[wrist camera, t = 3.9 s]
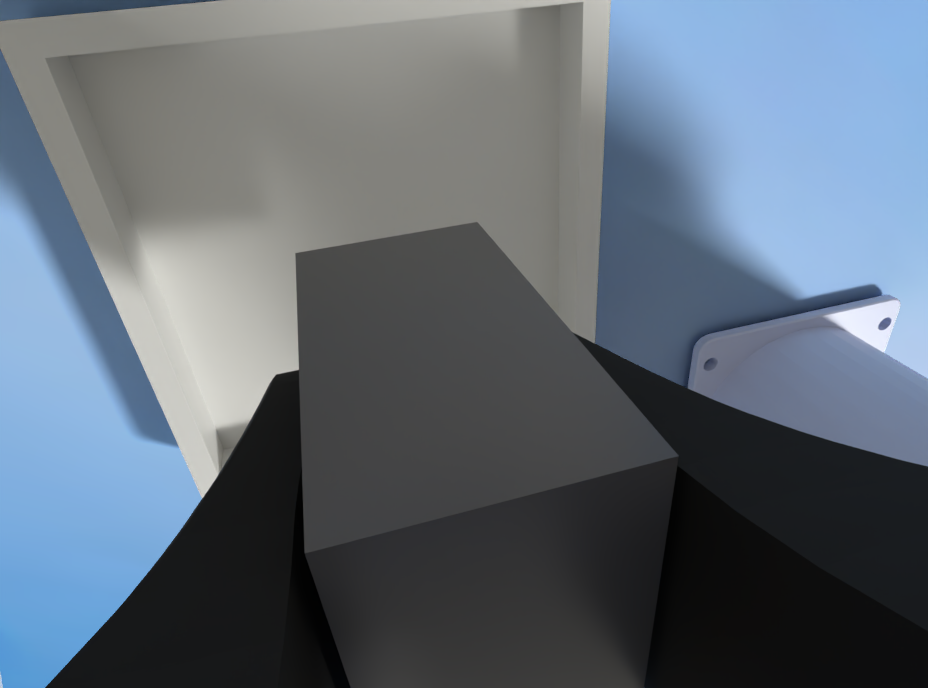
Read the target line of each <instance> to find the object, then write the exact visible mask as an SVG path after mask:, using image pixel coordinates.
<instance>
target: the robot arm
mask: <svg viewBox="0 0 928 688" xmlns="http://www.w3.org/2000/svg"><path fill="white" fill-rule="evenodd" d="M899 310H900V301H899V300H898V299H897V298H895V297H892V296H890V295H882V296H878V297H873V298H869V299H864V300H860V301H855V302H851V303H846V304H842V305H837V306H833V307H828V308H824V309H819V310H815V311H810V312H806V313H801V314H797V315H792V316H787V317H783V318H778V319H774V320H769V321H765V322H760V323H756V324H751V325H747V326H742V327H738V328H733V329H729V330H724V331H720V332H715V333H711V334H707V335H705V336H703V337H701V338H700V339H699V340H698V341H697V343H696V344H695V346H694V349H693V355H692V361H691V368H690V374H689V381H688V388H685V387H683V386H681V385H678V384H676V383H674V382H672V381H670V380H667V379H665V378H663V377H661V376H659V375H657V374H655V373H652V372H650V371H648V370H646V369H644V368H642V367H640V366H638V365H636V364H634V363H632V362H630V361H628V360H626V359H624V358H622V357H620V356H618V355H616V354H614V353H612V352H610V351H608V350H606V349H604V348H602V347H600V346H598V345H597V344H595V343H593V342H591V341H589V340H587V339H585V338H583V337H581V336H579V335H577V334H575V333H573V334H574V335H575V336H576V337H577V338H578V339H579V341H580V342H581V343H582V344H583V345H584V346H585V348H586V349H587V350H588V351H589V352H590V353H591V355H592V356H593V357H594V358H595V359H596V360H597V362H598V363H599V364H600V365H601V366H602V367H603V368H604V370H605V371H606V372H607V373H608V374H609V375H610V377H611V378H612V379H613V380H614V381H615V382H616V384H617V385H618V386H619V387H620V388H621V389H622V391H623V392H624V393H625V394H626V395H627V396H628V398H629V399H630V400H631V401H632V402H633V403H634V405H635V406H636V407H637V408H638V409H639V410H640V411H641V413H642V414H643V415H644V416H645V417H646V418H647V420H648V421H649V422H650V423H651V424H652V425H653V427H654V428H655V429H656V430H657V431H658V432H659V434H660V435H661V436H662V437H663V438H664V439H665V441H666V442H667V443H668V444H669V445H670V446H671V448H672V449H673V450H674V451H675V452H676V453H677V454H678V456H679V457H678V464H677V471H676V477H675V484H674V491H673V497H672V504H671V511H670V517H669V524H668V531H667V537H666V544H665V551H664V557H663V564H662V571H661V577H660V584H659V591H658V597H657V604H656V611H655V617H654V624H653V631H652V637H651V644H650V651H649V657H648V664H647V671H646V677H645V684H644V688H928V379H927V378H926V377H924V376H922V375H920V374H919V373H917V372H915V371H914V370H912V369H910V368H909V367H907V366H905V365H904V364H902V363H900V362H898V361H897V360H895V359H893V358H892V357H890V356H888V355H887V354H885V353H884V352H885V349H886V346H887V343H888V340H889V338H890V335H891V332H892V329H893V327H894V324H895V321H896V318H897V315H898V313H899ZM708 359H709V361H708V362H707V363H706V364H705V362H706V361H707V360H708ZM45 688H351V687H350V684H349V681H348V678H347V675H346V673H345V670H344V667H343V664H342V661H341V658H340V655H339V652H338V649H337V646H336V643H335V641H334V638H333V635H332V632H331V629H330V626H329V623H328V620H327V617H326V614H325V611H324V609H323V606H322V603H321V600H320V597H319V594H318V591H317V588H316V585H315V582H314V579H313V577H312V574H311V571H310V568H309V565H308V562H307V559H306V556H305V550H304V518H303V486H302V453H301V421H300V388H299V370H296V371H291V372H286V373H281V374H276V375H275V377H274V378H273V379H272V381H271V382H270V384H269V386H268V388H267V390H266V392H265V394H264V396H263V397H262V399H261V401H260V403H259V405H258V407H257V409H256V411H255V413H254V415H253V416H252V418H251V420H250V422H249V424H248V425H247V427H246V429H245V431H244V433H243V434H242V436H241V438H240V440H239V441H238V443H237V445H236V446H235V448H234V450H233V451H232V453H231V455H230V456H229V458H228V460H227V461H226V463H225V465H224V466H223V468H222V470H221V471H220V473H219V474H218V476H217V478H216V479H215V481H214V482H213V484H212V485H211V487H210V488H209V489H208V491H207V492H206V494H205V495H204V497H203V498H202V500H201V501H200V503H199V504H198V506H197V507H196V509H195V510H194V511H193V513H192V514H191V516H190V517H189V519H188V520H187V522H186V523H185V525H184V526H183V528H182V529H181V530H180V532H179V533H178V534H177V536H176V537H175V538H174V540H173V541H172V542H171V544H170V545H169V546H168V548H167V549H166V550H165V552H164V553H163V554H162V556H161V557H160V558H159V560H158V561H157V562H156V563H155V565H154V566H153V567H152V569H151V570H150V571H149V572H148V573H147V575H146V576H145V577H144V578H143V580H142V581H141V582H140V583H139V584H138V586H137V587H136V588H135V589H134V591H133V592H132V593H131V594H130V596H129V597H128V598H127V599H126V600H125V602H124V603H123V604H122V605H121V606H120V607H119V608H118V610H117V611H116V612H115V613H114V614H113V615H112V616H111V617H110V618H109V620H108V621H107V622H106V623H105V624H104V625H103V626H102V627H101V628H100V629H99V630H98V631H97V632H96V634H95V635H94V636H93V637H92V638H91V639H90V640H89V641H88V642H87V643H86V644H85V645H84V646H83V648H82V649H81V650H80V651H79V652H78V653H77V654H76V655H75V656H74V657H73V658H72V659H71V660H70V662H69V663H68V664H67V665H66V666H65V667H64V668H63V669H62V670H61V671H60V672H59V673H58V674H57V676H56V677H55V678H54V679H53V680H52V681H51V682H50V683H49V684H48V685H47V686H46V687H45Z"/></svg>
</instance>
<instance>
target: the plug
mask: <svg viewBox="0 0 928 688" xmlns="http://www.w3.org/2000/svg"><path fill="white" fill-rule="evenodd" d="M295 259H296V291H297V324H298V356H299V388H300V421H301V453H302V486H303V518H304V550H305V556H306V559H307V562H308V565H309V568H310V571H311V574H312V577H313V579H314V582H315V585H316V588H317V591H318V594H319V597H320V600H321V603H322V606H323V609H324V611H325V614H326V617H327V620H328V623H329V626H330V629H331V632H332V635H333V638H334V641H335V643H336V646H337V649H338V652H339V655H340V658H341V661H342V664H343V667H344V670H345V673H346V675H347V678H348V681H349V684H350V687H351V688H644V684H645V677H646V671H647V664H648V657H649V651H650V644H651V637H652V631H653V624H654V617H655V611H656V604H657V597H658V591H659V584H660V577H661V571H662V564H663V557H664V551H665V544H666V537H667V531H668V524H669V517H670V511H671V504H672V497H673V491H674V484H675V477H676V471H677V464H678V457H679V456H678V454H677V453H676V452H675V451H674V450H673V449H672V448H671V446H670V445H669V444H668V443H667V442H666V441H665V439H664V438H663V437H662V436H661V435H660V434H659V432H658V431H657V430H656V429H655V428H654V427H653V425H652V424H651V423H650V422H649V421H648V420H647V418H646V417H645V416H644V415H643V414H642V413H641V411H640V410H639V409H638V408H637V407H636V406H635V405H634V403H633V402H632V401H631V400H630V399H629V398H628V396H627V395H626V394H625V393H624V392H623V391H622V389H621V388H620V387H619V386H618V385H617V384H616V382H615V381H614V380H613V379H612V378H611V377H610V375H609V374H608V373H607V372H606V371H605V370H604V368H603V367H602V366H601V365H600V364H599V363H598V362H597V360H596V359H595V358H594V357H593V356H592V355H591V353H590V352H589V351H588V350H587V349H586V348H585V346H584V345H583V344H582V343H581V342H580V341H579V339H578V338H577V337H576V336H575V335H574V334H573V332H572V331H571V330H570V329H569V328H568V327H567V325H566V324H565V323H564V322H563V321H562V320H561V319H560V317H559V316H558V315H557V314H556V313H555V312H554V310H553V309H552V308H551V307H550V306H549V305H548V303H547V302H546V301H545V300H544V299H543V298H542V296H541V295H540V294H539V293H538V292H537V291H536V289H535V288H534V287H533V286H532V285H531V284H530V282H529V281H528V280H527V279H526V278H525V277H524V276H523V274H522V273H521V272H520V271H519V270H518V269H517V267H516V266H515V265H514V264H513V263H512V262H511V260H510V259H509V258H508V257H507V256H506V255H505V253H504V252H503V251H502V250H501V249H500V248H499V246H498V245H497V244H496V243H495V242H494V241H493V239H492V238H491V237H490V236H489V235H488V234H487V233H486V231H485V230H484V229H483V228H482V227H481V226H480V224H479V223H478V222H474V223H468V224H462V225H456V226H450V227H445V228H439V229H433V230H427V231H421V232H415V233H410V234H404V235H398V236H392V237H386V238H380V239H375V240H369V241H363V242H357V243H351V244H345V245H340V246H334V247H328V248H322V249H316V250H310V251H305V252H299V253H295Z"/></svg>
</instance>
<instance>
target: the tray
mask: <svg viewBox="0 0 928 688" xmlns="http://www.w3.org/2000/svg"><path fill="white" fill-rule="evenodd" d="M610 5H611V0H220V1H210V2H199V3H188V4H177V5H167V6H156V7H145V8H134V9H123V10H113V11H102V12H91V13H80V14H70V15H59V16H48V17H37V18H27V19H16V20H5V21H0V49H1V51H2V54H3V56H4V58H5V60H6V63H7V65H8V67H9V69H10V71H11V74H12V76H13V78H14V80H15V83H16V85H17V87H18V89H19V91H20V94H21V96H22V98H23V100H24V103H25V105H26V107H27V109H28V112H29V114H30V116H31V118H32V120H33V123H34V125H35V127H36V129H37V132H38V134H39V136H40V138H41V140H42V143H43V145H44V147H45V149H46V152H47V154H48V156H49V158H50V161H51V163H52V165H53V167H54V169H55V172H56V174H57V176H58V178H59V181H60V183H61V185H62V187H63V189H64V192H65V194H66V196H67V198H68V201H69V203H70V205H71V207H72V210H73V212H74V214H75V216H76V218H77V221H78V223H79V225H80V227H81V230H82V232H83V234H84V236H85V238H86V241H87V243H88V245H89V247H90V250H91V252H92V254H93V256H94V259H95V261H96V263H97V265H98V267H99V270H100V272H101V274H102V276H103V279H104V281H105V283H106V285H107V287H108V290H109V292H110V294H111V296H112V299H113V301H114V303H115V305H116V307H117V310H118V312H119V314H120V316H121V319H122V321H123V323H124V325H125V328H126V330H127V332H128V334H129V336H130V339H131V341H132V343H133V345H134V348H135V350H136V352H137V354H138V356H139V359H140V361H141V363H142V365H143V368H144V370H145V372H146V374H147V377H148V379H149V381H150V383H151V385H152V388H153V390H154V392H155V394H156V397H157V399H158V401H159V403H160V405H161V408H162V410H163V412H164V414H165V417H166V419H167V421H168V423H169V426H170V428H171V430H172V432H173V434H174V437H175V439H176V441H177V443H178V446H179V448H180V450H181V452H182V454H183V457H184V459H185V461H186V463H187V466H188V468H189V470H190V472H191V475H192V477H193V479H194V481H195V483H196V486H197V488H198V490H199V492H200V495H201V497H202V498H203V497H204V495H205V494H206V492H207V491H208V489H209V488H210V487H211V485H212V484H213V482H214V481H215V479H216V478H217V476H218V474H219V473H220V471H221V470H222V468H223V466H224V465H225V463H226V461H227V460H228V458H229V456H230V455H231V453H232V451H233V450H234V448H235V446H236V445H237V443H238V441H239V440H240V438H241V436H242V434H243V433H244V431H245V429H246V427H247V425H248V424H249V422H250V420H251V418H252V416H253V415H254V413H255V411H256V409H257V407H258V405H259V403H260V401H261V399H262V397H263V396H264V394H265V392H266V390H267V388H268V386H269V384H270V382H271V381H272V379H273V378H274V377H275V375H276V374H281V373H286V372H291V371H296V370H299V356H298V324H297V291H296V259H295V253H299V252H305V251H310V250H316V249H322V248H328V247H334V246H340V245H345V244H351V243H357V242H363V241H369V240H375V239H380V238H386V237H392V236H398V235H404V234H410V233H415V232H421V231H427V230H433V229H439V228H445V227H450V226H456V225H462V224H468V223H474V222H478V223H479V224H480V226H481V227H482V228H483V229H484V230H485V231H486V233H487V234H488V235H489V236H490V237H491V238H492V239H493V241H494V242H495V243H496V244H497V245H498V246H499V248H500V249H501V250H502V251H503V252H504V253H505V255H506V256H507V257H508V258H509V259H510V260H511V262H512V263H513V264H514V265H515V266H516V267H517V269H518V270H519V271H520V272H521V273H522V274H523V276H524V277H525V278H526V279H527V280H528V281H529V282H530V284H531V285H532V286H533V287H534V288H535V289H536V291H537V292H538V293H539V294H540V295H541V296H542V298H543V299H544V300H545V301H546V302H547V303H548V305H549V306H550V307H551V308H552V309H553V310H554V312H555V313H556V314H557V315H558V316H559V317H560V319H561V320H562V321H563V322H564V323H565V324H566V325H567V327H568V328H569V329H570V330H571V331H572V332H573V333H575V334H577V335H579V336H581V337H583V338H585V339H587V340H589V341H591V342H593V343H595V332H596V310H597V288H598V266H599V245H600V223H601V201H602V179H603V158H604V136H605V114H606V92H607V70H608V49H609V27H610Z"/></svg>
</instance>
